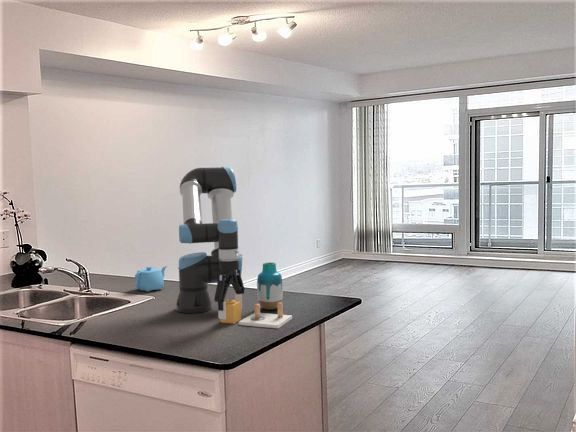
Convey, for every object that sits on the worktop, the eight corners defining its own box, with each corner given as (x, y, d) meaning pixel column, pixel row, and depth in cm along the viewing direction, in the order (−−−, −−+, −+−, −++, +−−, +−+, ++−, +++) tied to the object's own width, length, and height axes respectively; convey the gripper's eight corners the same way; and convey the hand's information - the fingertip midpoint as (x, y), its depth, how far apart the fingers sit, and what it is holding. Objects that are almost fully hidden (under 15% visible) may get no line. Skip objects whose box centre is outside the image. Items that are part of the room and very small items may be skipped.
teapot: (174, 288, 279) (174, 265, 278) (142, 294, 266) (141, 270, 265) (161, 284, 287) (160, 262, 286) (129, 290, 275) (128, 267, 274)
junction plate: (238, 324, 210) (238, 307, 210) (254, 315, 223) (254, 298, 222) (278, 328, 204) (277, 310, 204) (292, 318, 217) (291, 301, 217)
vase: (287, 307, 235) (286, 261, 233) (276, 313, 225) (275, 266, 224) (265, 305, 239) (263, 260, 238) (253, 311, 230) (251, 264, 228)
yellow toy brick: (220, 322, 214) (219, 301, 214) (227, 318, 220) (226, 298, 219) (234, 323, 212) (233, 302, 211) (241, 319, 218) (240, 299, 217)
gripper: (221, 265, 201) (223, 323, 202) (251, 255, 224) (253, 307, 225) (203, 264, 204) (205, 321, 205) (235, 254, 227) (236, 306, 228)
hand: (230, 314), depth 215 cm, fingers open, 13 cm apart
